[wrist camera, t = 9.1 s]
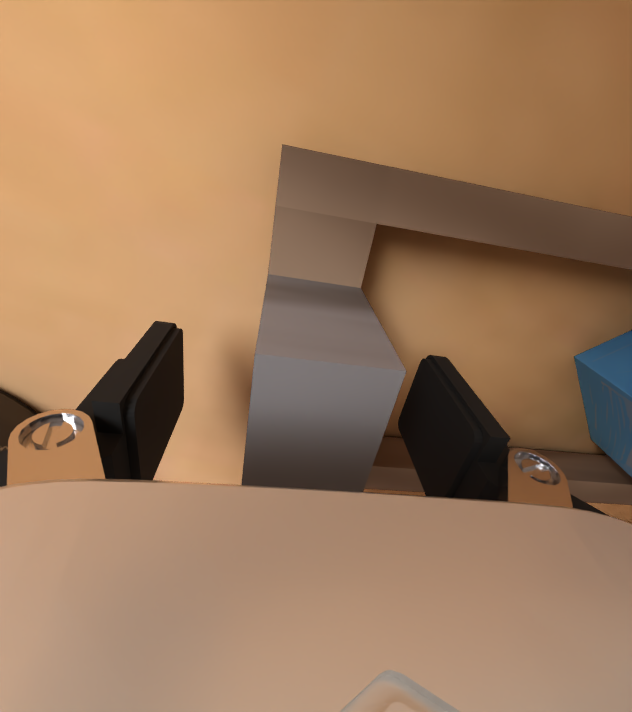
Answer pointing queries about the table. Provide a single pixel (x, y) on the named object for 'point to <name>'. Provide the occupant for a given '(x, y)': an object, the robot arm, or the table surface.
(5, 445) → the jar
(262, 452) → the rectangular wooden frame
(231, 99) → the table surface
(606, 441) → the perfume bottle
